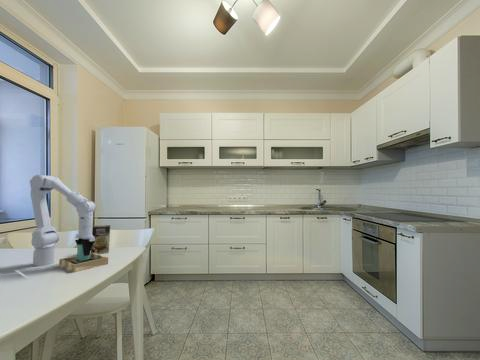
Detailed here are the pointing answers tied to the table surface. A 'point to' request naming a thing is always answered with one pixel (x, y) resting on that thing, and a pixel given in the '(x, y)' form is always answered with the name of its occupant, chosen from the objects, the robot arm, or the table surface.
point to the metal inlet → (81, 261)
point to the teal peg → (81, 253)
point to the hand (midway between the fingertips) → (84, 254)
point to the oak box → (85, 265)
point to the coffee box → (101, 239)
